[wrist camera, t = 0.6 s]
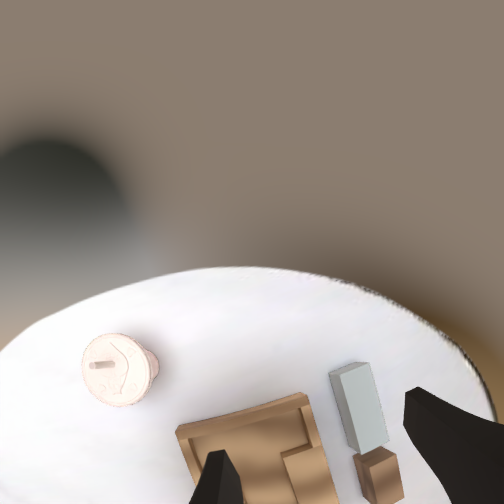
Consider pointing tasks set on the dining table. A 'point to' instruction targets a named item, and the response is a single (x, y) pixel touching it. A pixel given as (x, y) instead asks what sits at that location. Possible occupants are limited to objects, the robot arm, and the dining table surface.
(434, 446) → the robot arm
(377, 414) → the grey square post
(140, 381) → the smoothie
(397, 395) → the dining table surface
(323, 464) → the jig
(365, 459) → the brown wooden block
